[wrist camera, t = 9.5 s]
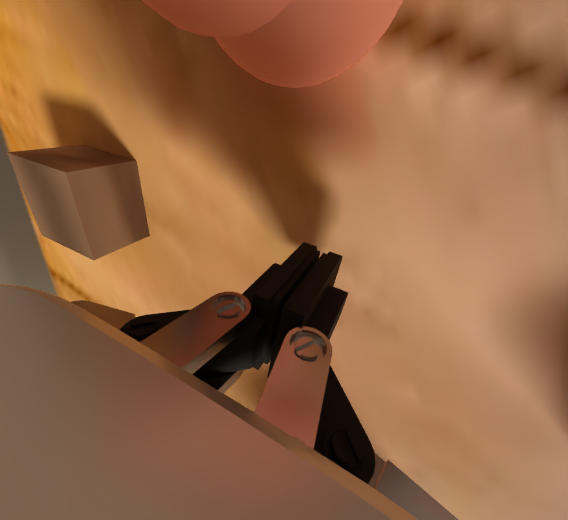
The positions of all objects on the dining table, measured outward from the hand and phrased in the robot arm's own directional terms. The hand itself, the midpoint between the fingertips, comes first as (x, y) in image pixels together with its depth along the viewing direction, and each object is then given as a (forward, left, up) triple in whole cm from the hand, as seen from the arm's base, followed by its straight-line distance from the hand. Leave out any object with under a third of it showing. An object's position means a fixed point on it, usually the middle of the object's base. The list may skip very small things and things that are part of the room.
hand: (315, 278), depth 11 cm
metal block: (+15, +1, -2) cm, 15 cm away
